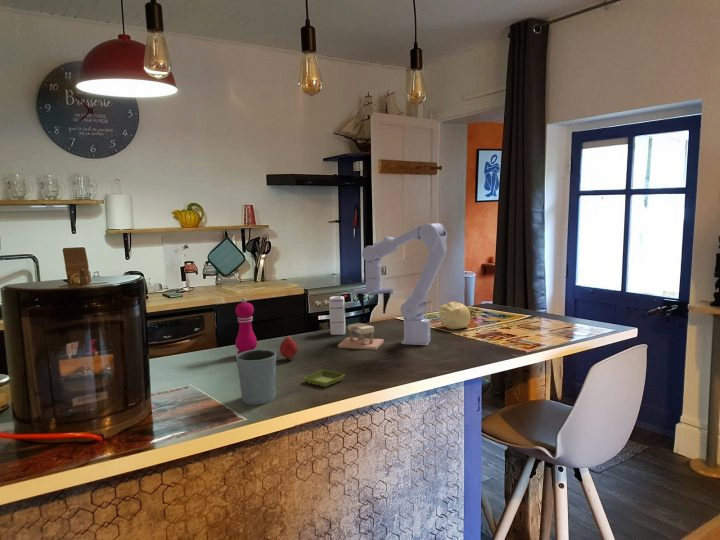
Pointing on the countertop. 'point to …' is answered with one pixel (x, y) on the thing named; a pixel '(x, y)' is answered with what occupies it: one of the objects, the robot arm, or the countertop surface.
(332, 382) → the saucer
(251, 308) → the pepper mill
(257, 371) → the grey cup
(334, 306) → the syrup box
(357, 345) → the board
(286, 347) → the pomegranate
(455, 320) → the pale yellow round lump
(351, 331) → the stool
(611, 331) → the countertop surface
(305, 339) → the countertop surface
